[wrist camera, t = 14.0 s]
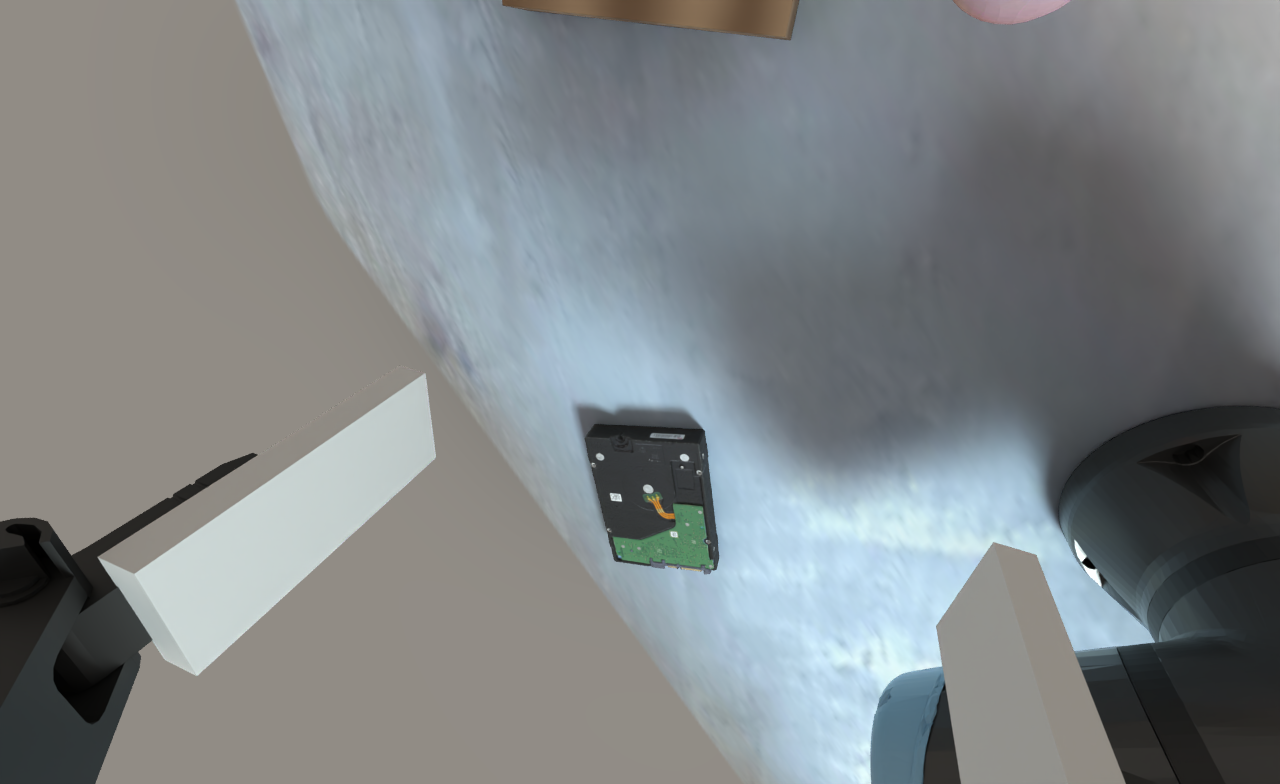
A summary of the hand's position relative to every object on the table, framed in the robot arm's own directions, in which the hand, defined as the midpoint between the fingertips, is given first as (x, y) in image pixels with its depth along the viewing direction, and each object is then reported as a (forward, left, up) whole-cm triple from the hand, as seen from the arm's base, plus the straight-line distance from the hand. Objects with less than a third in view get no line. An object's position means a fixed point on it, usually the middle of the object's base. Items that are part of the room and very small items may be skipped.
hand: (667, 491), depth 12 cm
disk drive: (+5, +25, -27) cm, 38 cm away
